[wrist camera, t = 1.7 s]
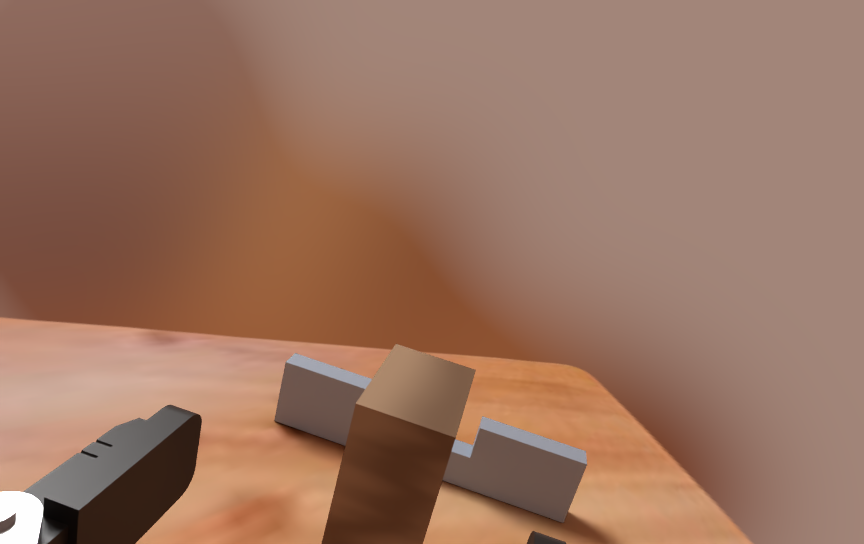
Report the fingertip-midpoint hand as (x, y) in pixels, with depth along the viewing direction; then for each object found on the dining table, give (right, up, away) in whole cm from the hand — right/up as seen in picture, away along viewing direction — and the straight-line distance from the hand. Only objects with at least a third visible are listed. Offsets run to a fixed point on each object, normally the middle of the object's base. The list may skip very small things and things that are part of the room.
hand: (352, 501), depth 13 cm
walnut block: (-2, -12, +16) cm, 20 cm away
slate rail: (+1, -9, +29) cm, 30 cm away
